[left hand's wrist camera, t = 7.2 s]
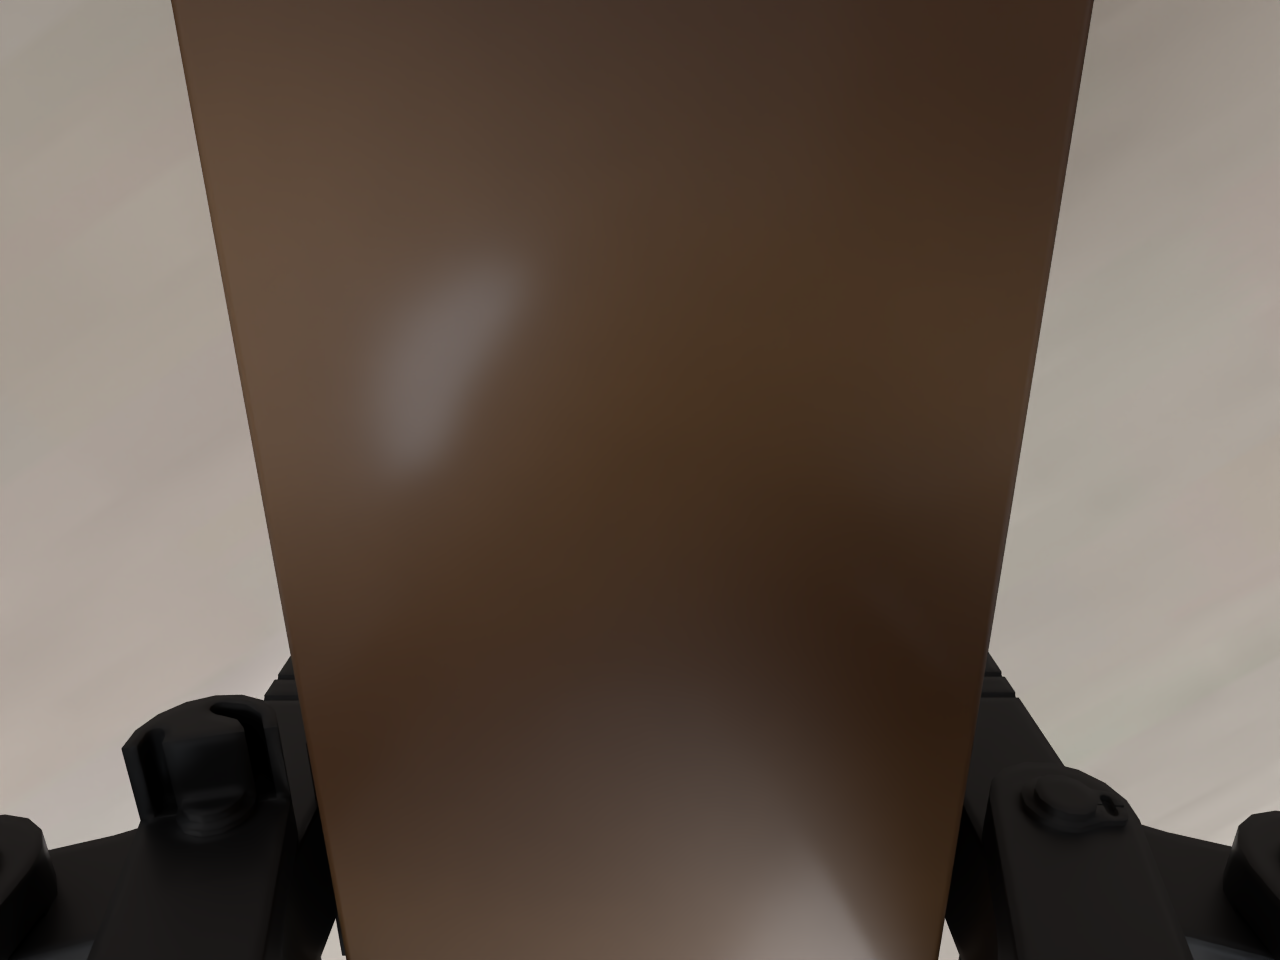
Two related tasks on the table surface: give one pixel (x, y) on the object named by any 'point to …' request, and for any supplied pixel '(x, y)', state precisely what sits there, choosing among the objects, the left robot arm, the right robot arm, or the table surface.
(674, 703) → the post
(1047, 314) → the table surface
